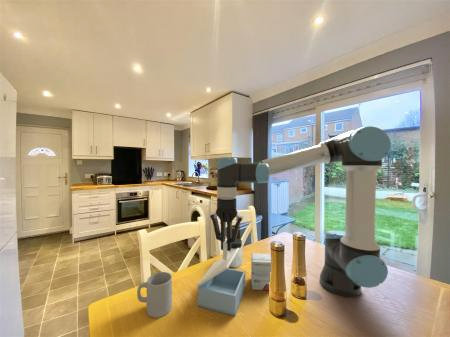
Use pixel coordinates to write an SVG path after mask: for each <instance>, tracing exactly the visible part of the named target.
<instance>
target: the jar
mask: <svg viewBox="0 0 450 337" xmlns="http://www.w3.org/2000/svg"><path fill="white" fill-rule="evenodd" d="M237 248H239V250H238V252H237V253H236V255H235V257H234V258H233V260H232V262H231V263H230V265H229V267H231V268H239V267H240V266H242V265H243V241H242V239H241V238H236V240H235V241H234V242H231V250H230V251H229V253H230V252H232V251H234V250H235V249H237ZM229 267H228V268H229Z"/></svg>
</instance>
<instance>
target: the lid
mask: <svg viewBox="0 0 450 337" xmlns="http://www.w3.org/2000/svg"><path fill="white" fill-rule="evenodd" d="M238 250H239V248H237V249H235V250H234V251H232V252H230V253H229V258H228V259H227V260H223V257H221V258H220V259H218V260H216V261H215V262H214V263H213V264H211V266H210V267H209V268H208V270H207V271H206V272H205V274H204V275H203V277H202V278H201V279H200V280H199V282H197V284H196V286H197V288H198V287H199V286H200V285H202V284H203V283H205V282H206V281H208V280H210V279H211V278H213V277H215V276H216V275H218V274H219V273H221V272H223V271H224V270H226V269H227V268H229V265H230V263H231V262H232V260H233V258H234V257H235V255H236V253H237V252H238Z"/></svg>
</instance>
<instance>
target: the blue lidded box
mask: <svg viewBox="0 0 450 337" xmlns="http://www.w3.org/2000/svg"><path fill="white" fill-rule="evenodd" d="M245 289H246V271H244V270H239V269H234V268H229V267H228V268H227V269H226V270H224V271H223V272H221V273H219V274H218V275H216V276H215V277H213V278H211V279H210V280H208V281H206V282H205V283H203V284H202V285H200V286H198V287H197V307H198V308H202V309H205V310H210V311H212V312H217V313H222V314H225V315H229V316H232V317H236V315H237V312H238V309H239V307H240V304H241V301H242V298H243V295H244V294H245V293H244V292H245V291H246V290H245Z"/></svg>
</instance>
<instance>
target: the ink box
mask: <svg viewBox="0 0 450 337" xmlns="http://www.w3.org/2000/svg"><path fill="white" fill-rule="evenodd" d="M250 258H251V264H250V265H251V267H250V268H251V269H250V270H251V275H250V277H251V279H250V280H251V289H252V290H255V291H256V290H257V291H258V290H259V291H270V290H269V282H270V272H271V259H272V257H271V254H270V253H258V252H257V253H255V252H252V253H251V257H250Z"/></svg>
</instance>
